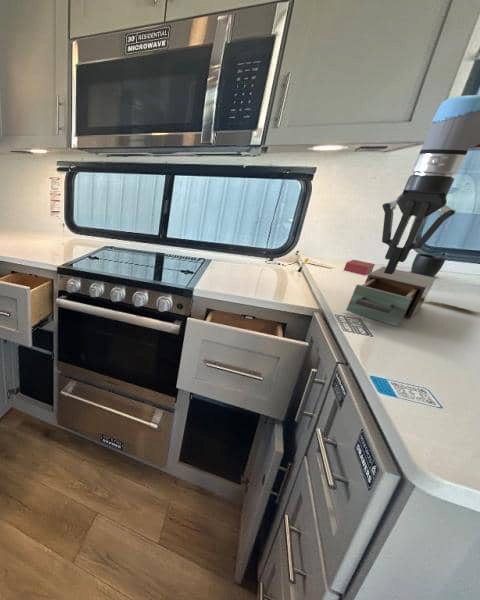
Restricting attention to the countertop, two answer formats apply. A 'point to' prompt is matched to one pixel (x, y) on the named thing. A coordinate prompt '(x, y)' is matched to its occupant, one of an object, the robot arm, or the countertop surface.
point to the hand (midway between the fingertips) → (388, 272)
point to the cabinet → (408, 280)
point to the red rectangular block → (359, 267)
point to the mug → (427, 264)
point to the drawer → (382, 301)
